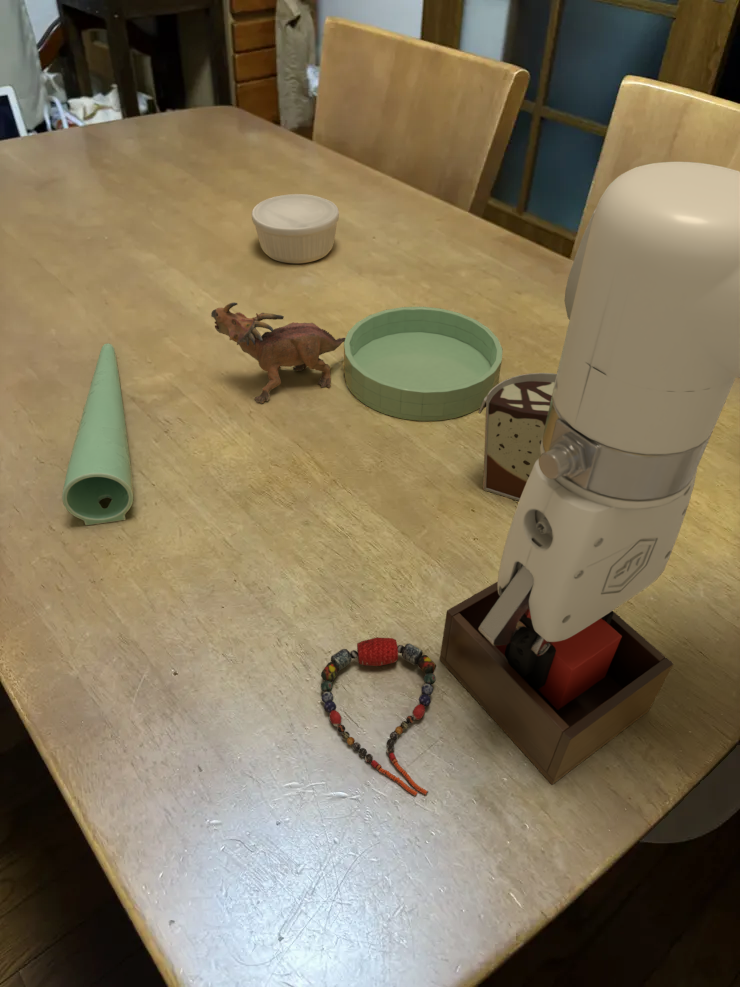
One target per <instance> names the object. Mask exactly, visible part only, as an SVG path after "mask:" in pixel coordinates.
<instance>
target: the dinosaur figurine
mask: <svg viewBox="0 0 740 987" xmlns="http://www.w3.org/2000/svg"><path fill="white" fill-rule="evenodd" d="M235 306H238V302H230V303H227V304H226V305H225V306H224V307H217V308H215V309H213V310H212V311H211V312H210V313H211V314H210V315H211V318H213V319H214V320H215V321H214V324H215V325H214V328H215V330H216V332H218V333H219V334H222V335H224V336H228V338H229V339H228V340H229V341H233V342H234V343H236V346H239V348H240V349H241V351H242V352H243V353H246V354H247V355H249V356H250V357H252V359H254V360H256V361H257V362H258V366H259V367H260V368H261V370H262V371H264V372H267V378H268V381H267V384H266V385H265V386H263V387H262V388H261V393H260V394H259V395H258V396H255V397H254V400H255V401H256V403H260V404H264V403H265V402H268V401H269V400H270V398H271V395H270V392H271V390H274V389H275V388H277V387H279V386H281V384H282V380H281V378H280V373H279V370H281V367H285V368H289V367H293V371H295V372H296V371H298V372H301V371H303V370H304V371H305V370H306V369H307V368H308V369H310V370H315V371H317V372H321V376H320V378H319V379H318V381H317V385H320V387H321V388H325V387H327V388H330V387H331V384H332V378H331V366H330V365H329V364H328V363H325V361H324V360H323V359H321V358H320V356H321V355H324V354H327V353H330V352H334V351H336V350H337V349H338V348H339V347H340V346H341V345H342V343H344V341H345V338H346V337H339V338H337V339H336V338H335V336H333V335H332V334H331V333H330V331H327V330H326V329H324V328H321V327H319V326H318V325H316V324H315V323H314V322H290V323H288V324H287V325H284V326H280V327H276V328H273V327H272V326H271V325H269V324H268V323H266V322H264V320H275V321H276V320H284V317H285V315H281V314H275V313H269V312H268V313H267V312H261V313H259V314H258V313H255V316H253V317H247V316H246V315H245V314H243V313H241V312H240V311H239V312H231V309H232V308H234V307H235ZM257 328H263V329H266V330H269V331H265V332H264V333H263V334H262V335H261V333H260V332H259V330H258V329H257Z"/></svg>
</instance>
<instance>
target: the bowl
mask: <svg viewBox="0 0 740 987" xmlns="http://www.w3.org/2000/svg"><path fill="white" fill-rule="evenodd" d="M344 338H345V341H344V342H343V375H344V376H343V377H344V380H345V384H346V386H347V388H348V389H349V391H350V393H351V394H352V395H353V396H354V398H356V399H357V400H358V401H360V402H361V403H363V404H364V405H365V406H367V407H368V408H370V409H372V410H374V411H377V412H378V413H381V414H384V415H387V416H389V417H393V418H396V419H397V418H398V419H403V420H407V421H408V420H409V421H416V422H417V421H419V422H438V421H446V420H453V419H457V418H460V417H463V416H466V415H469V414H471V413H473V412H475V411H477V410H480V407H481V405H482V402H483V400H484V399H485V397H486V396H487V395H488V393H489V392H490V391H491V389H492V388H494V387H495V386H496V385H497V384H499V381H500V380H499V379H500V375H501V368H502V363H503V362H502V361H503V350H504V349H503V347H502V344H501V342H500V339H499V338H498V337H497V335H495V333H494V332H493V331H492V330H491V329H490V328H489V327H488V326H486V325H484V324H483V323H482V322H480V321H479V320H477V319H475V318H473V317H470V316H468V315H465V314H463V313H461V312H457V311H453V310H449V309H445V308H441V307H432V306H401V307H400V306H399V307H395V308H388V309H384V310H381V311H378V312H375V313H371V314H369V315H367V316H366V317H364V318H361V319H360V320H358V321H357V322H356V323H355V324H354V325H353V326H352V327H351V328H350V329H349V330H348V331H347V333H346V335H345V337H344Z"/></svg>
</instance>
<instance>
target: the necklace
mask: <svg viewBox="0 0 740 987" xmlns="http://www.w3.org/2000/svg"><path fill="white" fill-rule="evenodd" d="M399 654H401V657H402V659H403V660H404V661H406V662H408V663H410V664H412V665H413V666H417V667H418V668H419V669H420V670H421V671H422V672H423V674H424V677H423V681H424V684H423V685H421V687H420V689H421V695H420V696H419V698H418V702H419V704H417V705H416V706H414V708H413V710H412V712H411V715H408V716H406V718H405V720H403V721H402V722H400V725H398V726H396V727H395V729H394V731H392V732H390V734H389V739H387V741H386V746H387V748H386V750H385V751H386V753H387V755H388V757H389V760H390V762H391V764H392V765H393V766H394V767H395V768H396V769H397V770H398V771H399V773H401V774H402V775H403V776H404V778H405V779H406V780H407V782H408V783H409V784H410V785H411V786H412V787H413V788H414V789H413V788H411V787H410V786H409V785H408V784H407V783H405V782H404V781H403V780H402V779H401V778H400V777H399V776H396V775H394V774H392V773H391V772H390V770H387V769H384V768H383V767H382V765H381V764H380V763H379V762H378V761H377V760H375V759H374V756H373V755H372V754H371V753H368V751H367V749H366V748H364V747H362V745H361V743H360V742H358V741H356V740H355V738H354V737H353V736H350V733H349V731H346V727H345V725H344V724H342V716H341V714H340V712H339V711H337V710H336V709H337V704H336V703H335V701H334V695H333V693H332V690H333V682H334V681H335V679H336V678H337V676H338V675H339V673H340V671H341V670H342V669H344V668H346V667H347V666H349V665H350V664H351V663H352V661H353V660H356V659H357V661H358V664H359V665H361V666H369V667H371V666H373V667H382V666H385V665H390V664H394V663H396V662H397V661H398V660H399ZM436 669H437V664H436V663H435V662H434V660H432V659H431V658H430V656H429V655H428V654H424V652H423V650H422V649H420V648H419V647H417V646H415V645H413V644H412V643H406V644H405V645H403V644H398V643H397V640H396V639H395V638H394V637H374V638H373V637H372V638H370V639H364V640H362V641H359V642H358V643H356V650H354V649H353V650H351V651H349V650H348V649H347V648H342V649H340V650H339V651H337V652H336V653H334V654H332V655H331V656H330V661H329V662H328V663H327V664H326V666H325V667H324V668H323V669H322V671H321V673H320V677H321V679H322V680H323V681H322V683H320V690H321V691H322V692H323V693H322V694H321V697H320V698H321V702H322V703H324V705H323V709H324V711H325V712H326V713H329V722H330V723H331V725H332V726H333V727H336V728H337V729H336V731H337V732H338V733H340V734H341V738H342V739H343V740H346V743H347V745H348V746H352V749H353V750H354V751H357V752H358V755H359V756H360V757H364V760H365V762H366V763H370V765H371V766H372V767H373V768H374V769H375V770H377V771H378V772H379V773H381V774H384V775H385V776H387V777H388V778H389V779H391V780H393V782H396V784H398V785H399V786H401V787H402V788H403V789H404V790H405V791H407V793H410V794H411V795H413V796H417V795H418V793H419V792H420V793H422V794H423V795H427V794H429V791H428V790H426V789H425V788H424V787H421V786H420V785H418V783H417V782H416V781H414V780H413V778H412V777H411V776H410V774H408V771H406V770H405V769H404V768H403V767H402V766H401V765H400V764H399V762H398V759H397V757H396V755H395V748H394V746H395V743H396V742H395V741H396V740H397V739H398V737H399V735H401V734H403V732H404V730H407V729H409V725H411V724H413V723H414V721H415V720H416V721H418V720H421V719H422V718H423V717H424V715H425V714H426V707H429V706H430V704H431V701H432V699H431V697H430V696H431V695H432V694H433V693H434V687H433V685H434V684H435V683H436V680H437V678H436V676H435V674H434V672H435V671H436Z"/></svg>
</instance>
